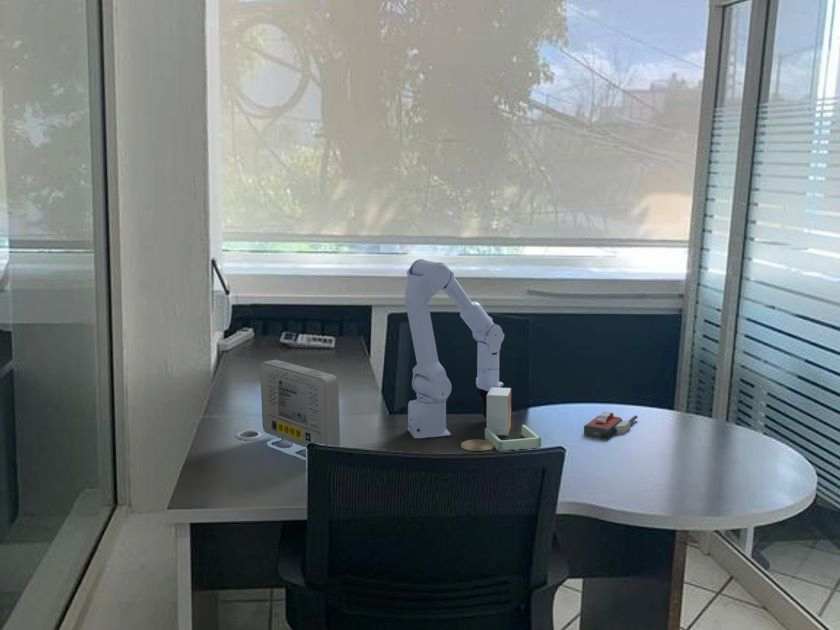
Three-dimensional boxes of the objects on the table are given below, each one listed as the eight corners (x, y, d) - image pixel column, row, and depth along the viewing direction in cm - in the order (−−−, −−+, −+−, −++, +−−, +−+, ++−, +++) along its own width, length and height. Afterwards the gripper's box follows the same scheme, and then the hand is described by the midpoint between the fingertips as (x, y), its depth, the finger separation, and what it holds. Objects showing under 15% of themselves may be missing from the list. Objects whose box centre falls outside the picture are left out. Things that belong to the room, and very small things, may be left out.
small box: (508, 436, 218) (508, 396, 216) (486, 435, 219) (486, 394, 217) (511, 426, 225) (511, 387, 223) (489, 425, 226) (490, 386, 224)
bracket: (499, 451, 206) (499, 441, 206) (484, 437, 216) (484, 428, 216) (540, 447, 209) (541, 438, 208) (524, 434, 219) (524, 424, 218)
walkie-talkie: (614, 443, 213) (640, 422, 229) (614, 426, 212) (640, 406, 228) (580, 437, 217) (608, 417, 234) (580, 420, 216) (608, 401, 233)
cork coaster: (466, 453, 205) (466, 451, 205) (457, 442, 213) (457, 440, 213) (498, 450, 207) (498, 448, 207) (487, 439, 215) (487, 438, 215)
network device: (347, 456, 204) (345, 374, 200) (318, 466, 198) (315, 381, 194) (282, 433, 222) (279, 357, 218) (253, 441, 215) (250, 363, 212)
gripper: (512, 372, 222) (511, 423, 224) (493, 360, 235) (493, 408, 238) (486, 374, 220) (485, 426, 222) (468, 362, 234) (468, 410, 236)
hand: (487, 417), depth 230 cm, fingers closed
